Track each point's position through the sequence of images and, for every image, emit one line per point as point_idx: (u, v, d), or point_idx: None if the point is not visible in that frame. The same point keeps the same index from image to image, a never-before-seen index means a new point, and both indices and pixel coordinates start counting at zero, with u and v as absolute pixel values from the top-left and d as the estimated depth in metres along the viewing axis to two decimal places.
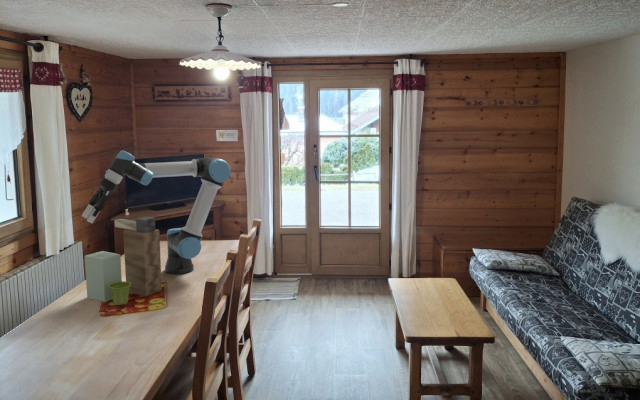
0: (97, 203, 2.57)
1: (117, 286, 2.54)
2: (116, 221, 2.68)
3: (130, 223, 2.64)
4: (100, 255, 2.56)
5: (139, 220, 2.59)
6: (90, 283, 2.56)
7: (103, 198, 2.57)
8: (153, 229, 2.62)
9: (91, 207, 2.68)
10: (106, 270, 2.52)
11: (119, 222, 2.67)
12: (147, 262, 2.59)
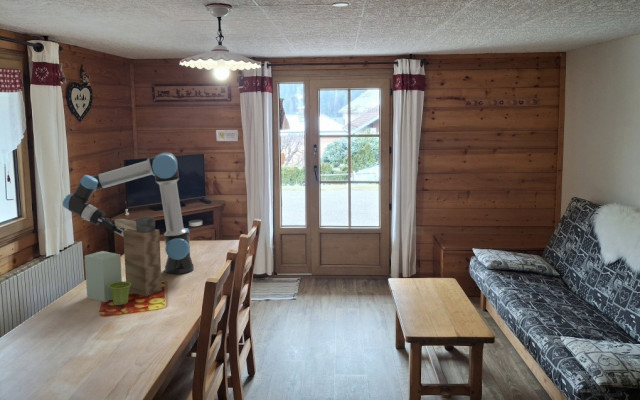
0: (110, 228, 2.68)
1: (117, 286, 2.54)
2: (116, 221, 2.68)
3: (130, 223, 2.64)
4: (100, 255, 2.56)
5: (139, 220, 2.59)
6: (90, 283, 2.56)
7: (103, 224, 2.66)
8: (153, 229, 2.62)
9: None
10: (106, 270, 2.52)
11: (119, 222, 2.67)
12: (147, 262, 2.59)
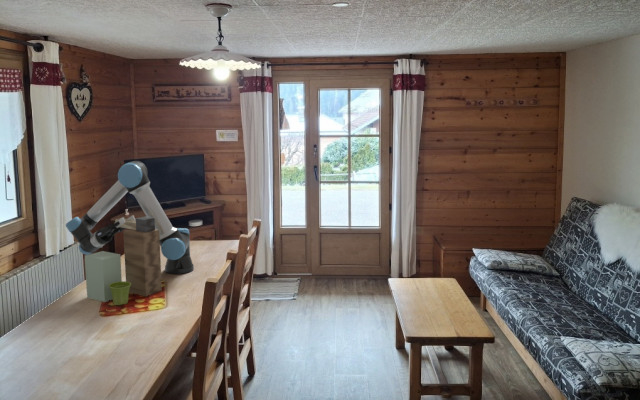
0: (112, 230, 2.68)
1: (117, 286, 2.54)
2: None
3: (130, 223, 2.65)
4: (100, 255, 2.56)
5: (139, 220, 2.59)
6: (90, 283, 2.56)
7: (103, 232, 2.67)
8: (153, 229, 2.62)
9: None
10: (106, 270, 2.52)
11: None
12: (147, 262, 2.59)
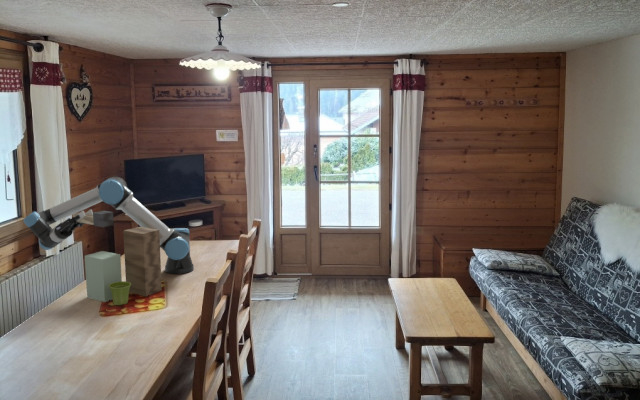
0: (72, 224, 2.60)
1: (117, 286, 2.54)
2: (74, 215, 2.60)
3: (88, 217, 2.56)
4: (100, 255, 2.56)
5: (96, 214, 2.50)
6: (90, 283, 2.56)
7: (63, 226, 2.59)
8: (111, 223, 2.54)
9: None
10: (106, 270, 2.52)
11: None
12: (147, 262, 2.59)
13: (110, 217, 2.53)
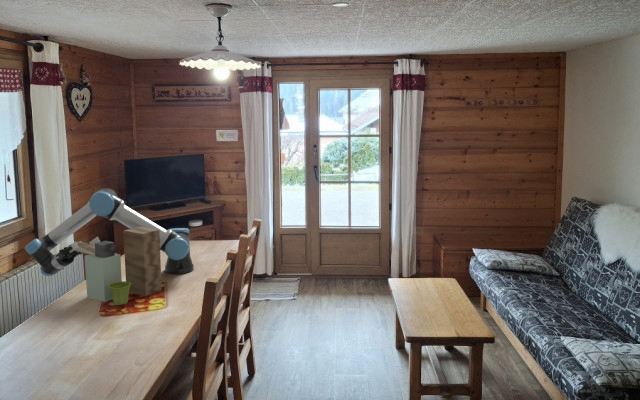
0: None
1: (117, 286, 2.54)
2: None
3: (89, 247, 2.58)
4: None
5: (98, 245, 2.52)
6: (90, 283, 2.56)
7: (59, 256, 2.60)
8: (112, 254, 2.56)
9: (91, 243, 2.68)
10: (106, 270, 2.52)
11: (79, 246, 2.61)
12: (147, 262, 2.59)
13: (112, 247, 2.55)
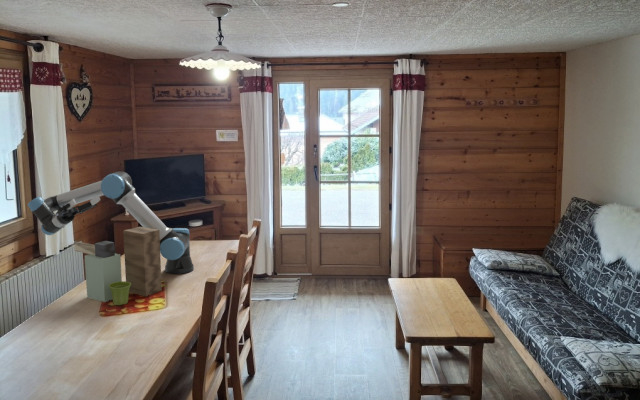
0: (66, 211, 2.65)
1: (117, 286, 2.54)
2: (76, 245, 2.62)
3: (89, 247, 2.58)
4: None
5: (98, 245, 2.52)
6: (90, 283, 2.56)
7: (58, 213, 2.65)
8: (112, 254, 2.56)
9: (91, 201, 2.74)
10: (106, 270, 2.52)
11: (79, 246, 2.61)
12: (147, 262, 2.59)
13: (112, 247, 2.55)
